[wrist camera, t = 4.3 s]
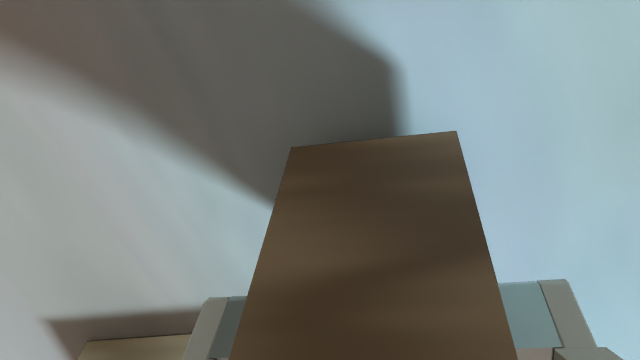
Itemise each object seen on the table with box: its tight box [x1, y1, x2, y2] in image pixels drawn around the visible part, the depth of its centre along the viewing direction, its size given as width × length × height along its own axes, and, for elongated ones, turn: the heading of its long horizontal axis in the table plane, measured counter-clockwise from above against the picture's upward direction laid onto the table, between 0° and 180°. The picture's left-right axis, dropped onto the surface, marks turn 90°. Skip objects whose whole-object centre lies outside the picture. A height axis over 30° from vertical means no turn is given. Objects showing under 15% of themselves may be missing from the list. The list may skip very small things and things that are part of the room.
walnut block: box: [229, 131, 518, 360], centre depth 10 cm, size 4×4×9 cm
